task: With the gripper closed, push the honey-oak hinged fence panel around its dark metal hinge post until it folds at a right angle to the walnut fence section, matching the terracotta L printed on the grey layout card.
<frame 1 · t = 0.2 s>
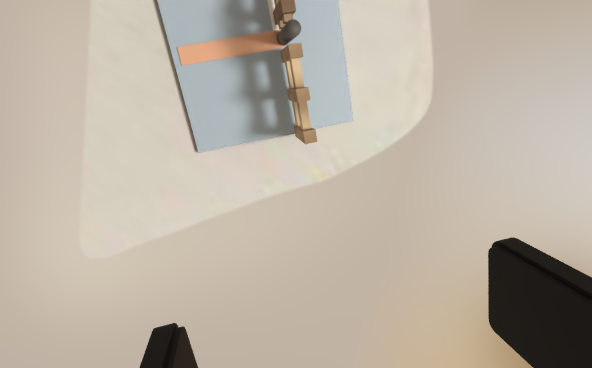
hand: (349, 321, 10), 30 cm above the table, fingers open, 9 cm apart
layout card: (259, 43, 36), on the table
fence fixed: (282, 39, 36), resting on layout card
fence fold: (298, 94, 34), point 4 cm above the table, hinge at 0.0°
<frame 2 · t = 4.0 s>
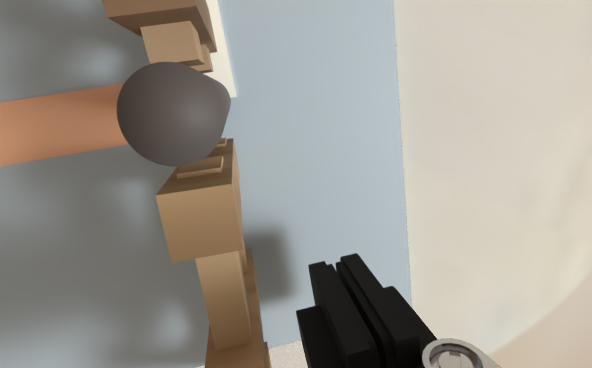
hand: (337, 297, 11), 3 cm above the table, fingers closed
layout card: (132, 113, 11), on the table
fence fixed: (209, 100, 11), resting on layout card
fence fold: (237, 316, 9), point 4 cm above the table, hinge at -2.4°, touching gripper
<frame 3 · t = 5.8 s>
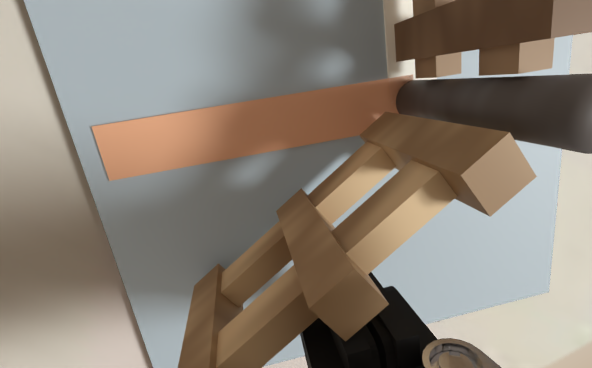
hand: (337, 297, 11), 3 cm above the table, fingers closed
layout card: (343, 110, 12), on the table
fence fixed: (407, 99, 13), resting on layout card
fence fold: (317, 245, 9), point 4 cm above the table, hinge at -57.2°, touching gripper
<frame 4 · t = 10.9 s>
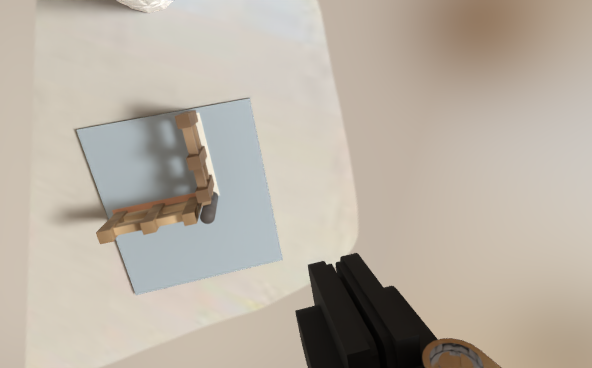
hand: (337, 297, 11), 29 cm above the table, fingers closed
layout card: (190, 200, 39), on the table
fence fixed: (212, 195, 39), resting on layout card
fence fold: (154, 217, 35), point 4 cm above the table, hinge at -90.5°
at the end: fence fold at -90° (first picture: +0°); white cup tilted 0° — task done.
